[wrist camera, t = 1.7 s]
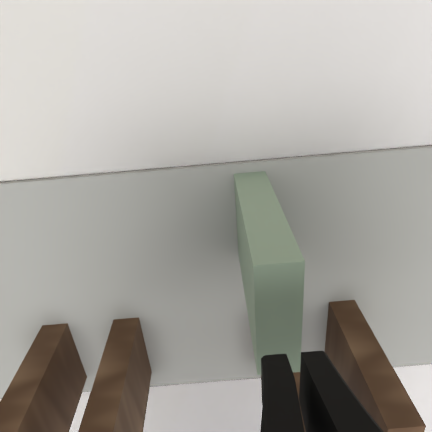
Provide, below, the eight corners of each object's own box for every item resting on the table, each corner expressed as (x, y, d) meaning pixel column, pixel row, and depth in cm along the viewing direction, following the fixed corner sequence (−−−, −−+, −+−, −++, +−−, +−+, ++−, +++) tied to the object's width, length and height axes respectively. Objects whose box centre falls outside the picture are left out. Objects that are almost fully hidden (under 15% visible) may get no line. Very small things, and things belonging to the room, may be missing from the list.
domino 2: (138, 317, 22) (108, 451, 15) (151, 371, 25) (130, 510, 17) (113, 319, 22) (71, 453, 15) (128, 373, 25) (98, 512, 17)
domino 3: (354, 299, 22) (425, 426, 15) (347, 356, 24) (405, 488, 17) (328, 301, 22) (388, 429, 15) (323, 358, 24) (373, 491, 17)
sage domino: (265, 171, 18) (305, 261, 11) (266, 253, 20) (300, 371, 13) (233, 173, 18) (253, 265, 11) (238, 255, 20) (257, 375, 13)
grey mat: (493, 140, 18) (498, 141, 18) (430, 360, 25) (433, 363, 25) (-132, 193, 18) (-137, 195, 18) (-15, 396, 26) (-17, 400, 25)
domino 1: (67, 323, 22) (3, 459, 15) (87, 377, 25) (39, 517, 18) (42, 325, 22) (-33, 462, 15) (64, 379, 25) (7, 519, 18)
